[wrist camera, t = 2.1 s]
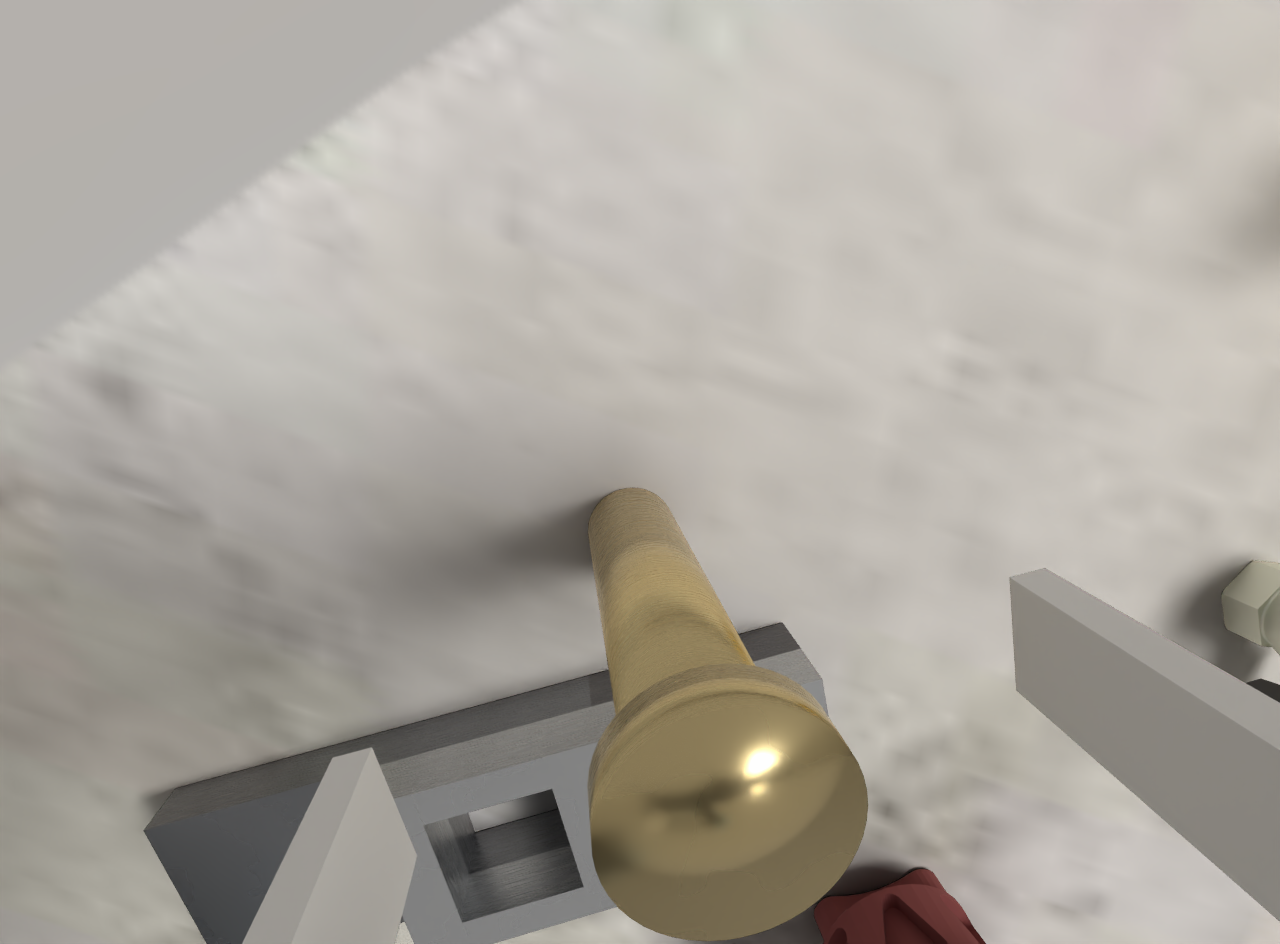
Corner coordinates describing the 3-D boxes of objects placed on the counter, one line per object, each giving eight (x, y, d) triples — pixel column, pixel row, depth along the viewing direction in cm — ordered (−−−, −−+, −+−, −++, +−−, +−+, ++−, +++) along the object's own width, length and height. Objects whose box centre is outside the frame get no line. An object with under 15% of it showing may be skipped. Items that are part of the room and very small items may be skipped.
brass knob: (585, 599, 25) (627, 973, 11) (554, 487, 23) (558, 753, 10) (702, 568, 25) (882, 895, 11) (678, 455, 24) (848, 671, 10)
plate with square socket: (247, 925, 26) (196, 1032, 23) (175, 788, 24) (105, 880, 21) (807, 763, 28) (848, 837, 24) (782, 622, 26) (821, 678, 22)
